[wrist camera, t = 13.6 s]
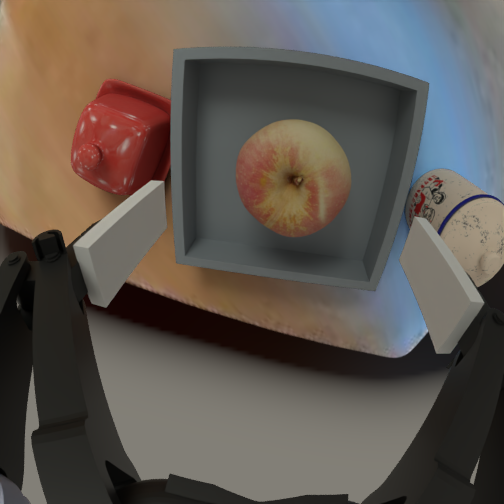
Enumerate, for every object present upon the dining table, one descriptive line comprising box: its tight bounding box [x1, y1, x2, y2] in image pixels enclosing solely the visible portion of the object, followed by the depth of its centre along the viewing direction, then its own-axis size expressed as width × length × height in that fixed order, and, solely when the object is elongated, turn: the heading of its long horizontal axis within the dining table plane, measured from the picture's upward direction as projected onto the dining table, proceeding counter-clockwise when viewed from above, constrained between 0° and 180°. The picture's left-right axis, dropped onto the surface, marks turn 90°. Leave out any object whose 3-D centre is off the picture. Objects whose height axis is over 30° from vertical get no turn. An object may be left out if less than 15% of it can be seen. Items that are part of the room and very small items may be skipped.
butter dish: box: [71, 79, 171, 196], centre depth 23 cm, size 12×12×8 cm
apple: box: [236, 119, 351, 237], centre depth 21 cm, size 9×9×8 cm
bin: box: [170, 47, 429, 291], centre depth 24 cm, size 20×20×5 cm
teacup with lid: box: [405, 169, 504, 287], centre depth 21 cm, size 12×9×12 cm
